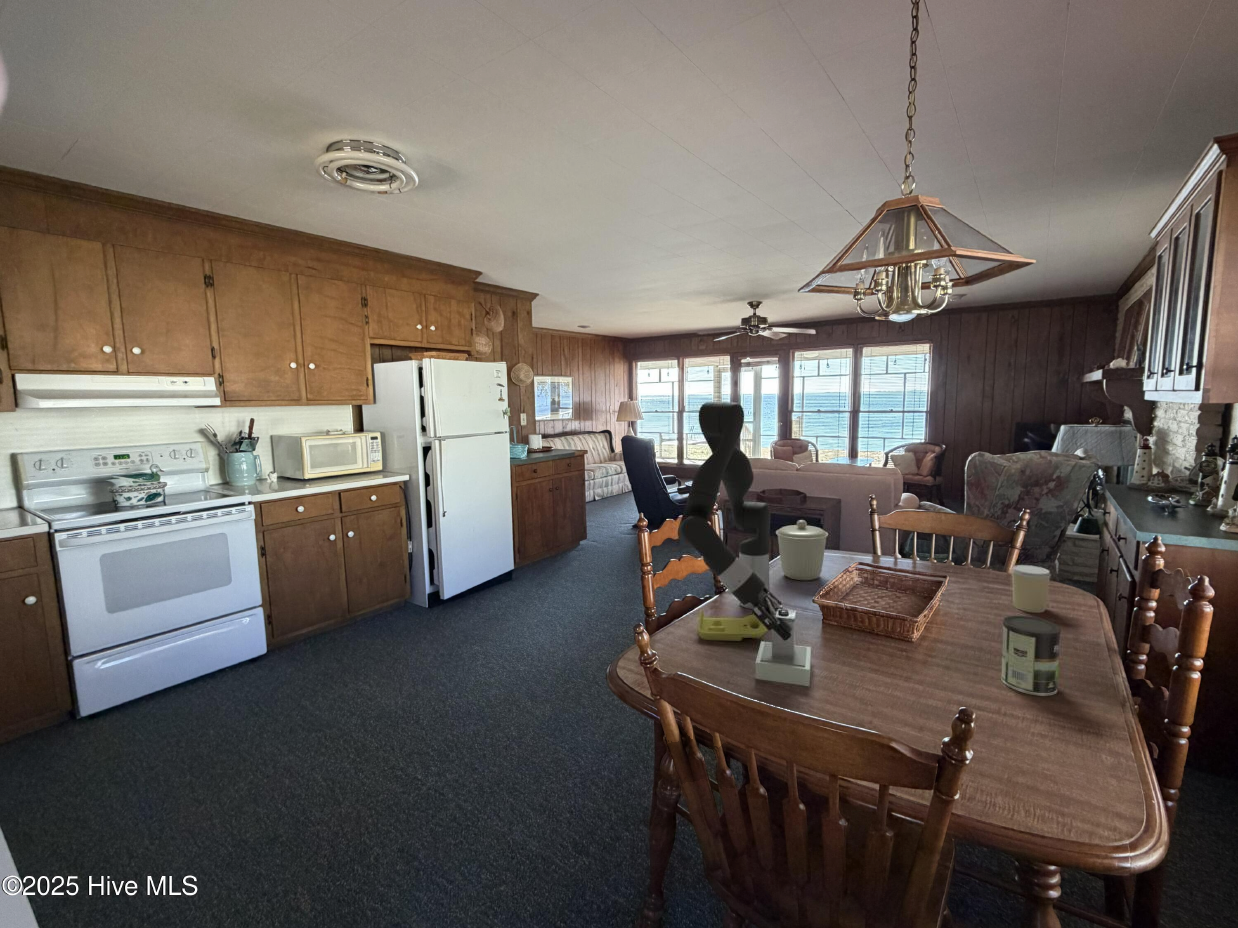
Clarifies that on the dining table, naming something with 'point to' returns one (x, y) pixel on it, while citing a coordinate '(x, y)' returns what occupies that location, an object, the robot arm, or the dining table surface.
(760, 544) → the robot arm
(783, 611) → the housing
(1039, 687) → the coffee can
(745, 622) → the plastic component
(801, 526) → the canister
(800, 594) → the dining table surface
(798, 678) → the stand
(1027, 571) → the cream jar
